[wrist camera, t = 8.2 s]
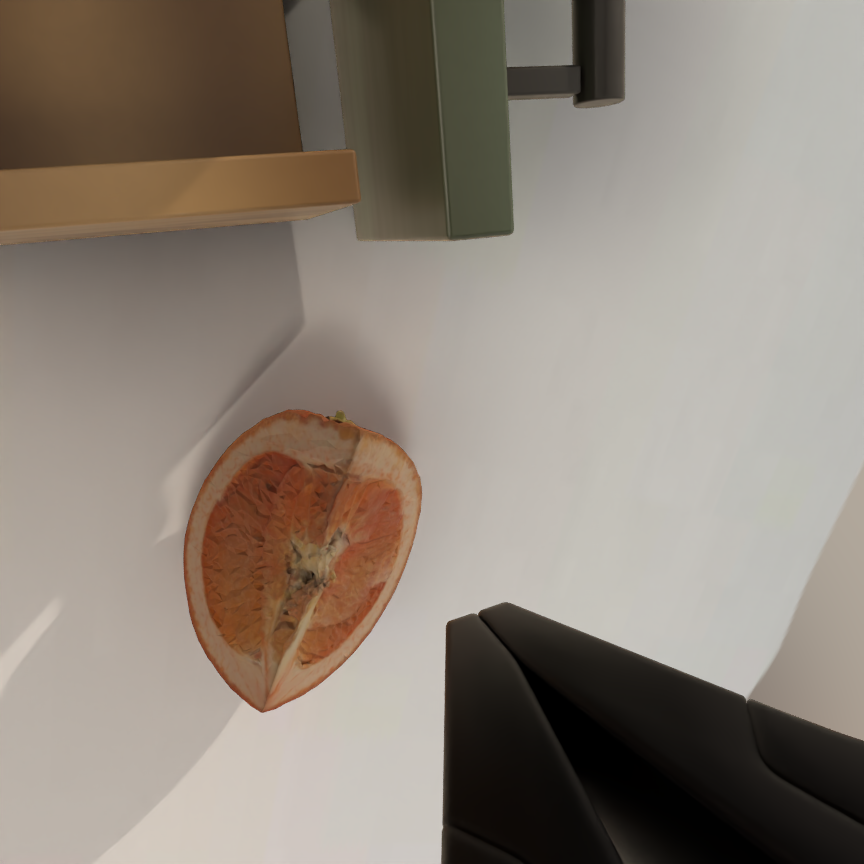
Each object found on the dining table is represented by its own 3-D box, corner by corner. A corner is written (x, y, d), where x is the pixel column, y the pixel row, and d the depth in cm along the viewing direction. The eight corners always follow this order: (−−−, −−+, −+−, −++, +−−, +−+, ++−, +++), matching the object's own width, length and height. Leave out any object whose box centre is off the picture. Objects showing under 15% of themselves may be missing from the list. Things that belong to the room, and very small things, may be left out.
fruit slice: (239, 357, 19) (240, 393, 15) (437, 422, 22) (490, 471, 17) (159, 600, 21) (136, 702, 16) (353, 636, 23) (382, 734, 19)
